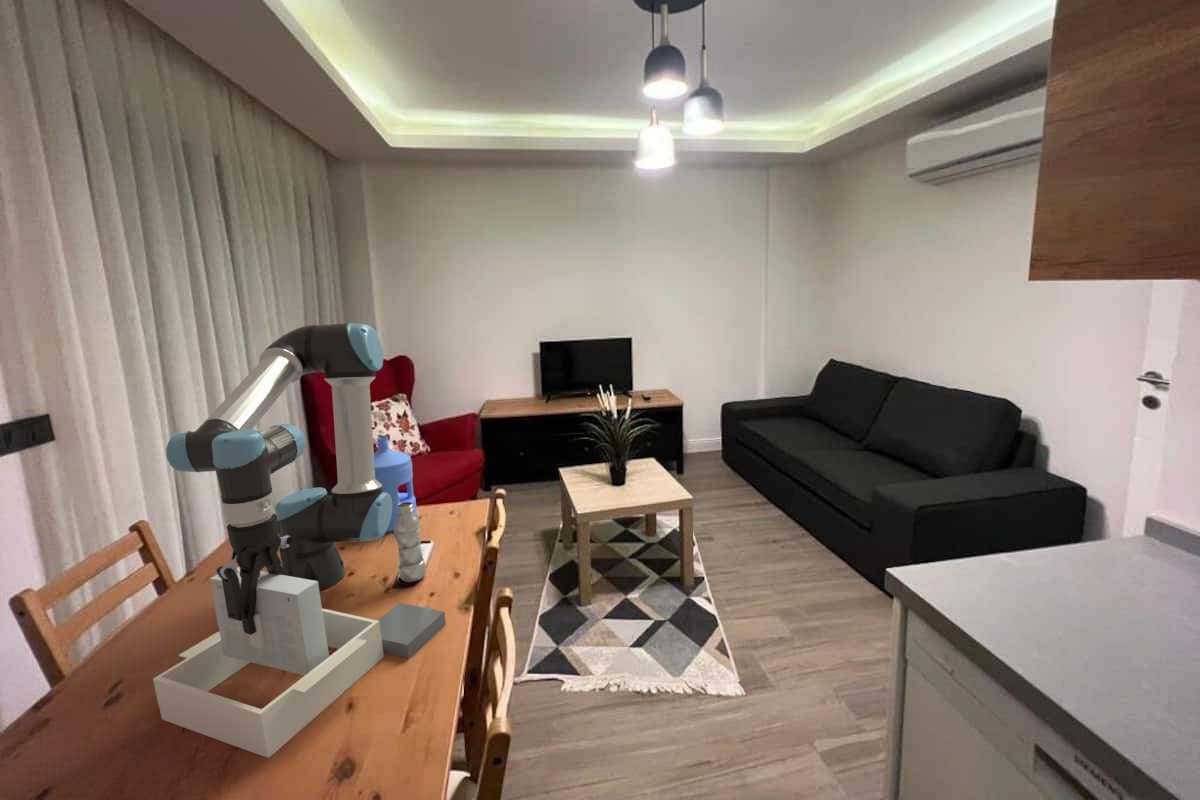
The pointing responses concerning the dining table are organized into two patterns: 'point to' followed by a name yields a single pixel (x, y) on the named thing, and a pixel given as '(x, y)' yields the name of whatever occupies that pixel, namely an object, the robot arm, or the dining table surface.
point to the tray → (286, 714)
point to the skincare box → (277, 624)
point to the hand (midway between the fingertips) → (273, 636)
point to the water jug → (394, 476)
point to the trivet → (409, 628)
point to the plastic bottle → (409, 543)
